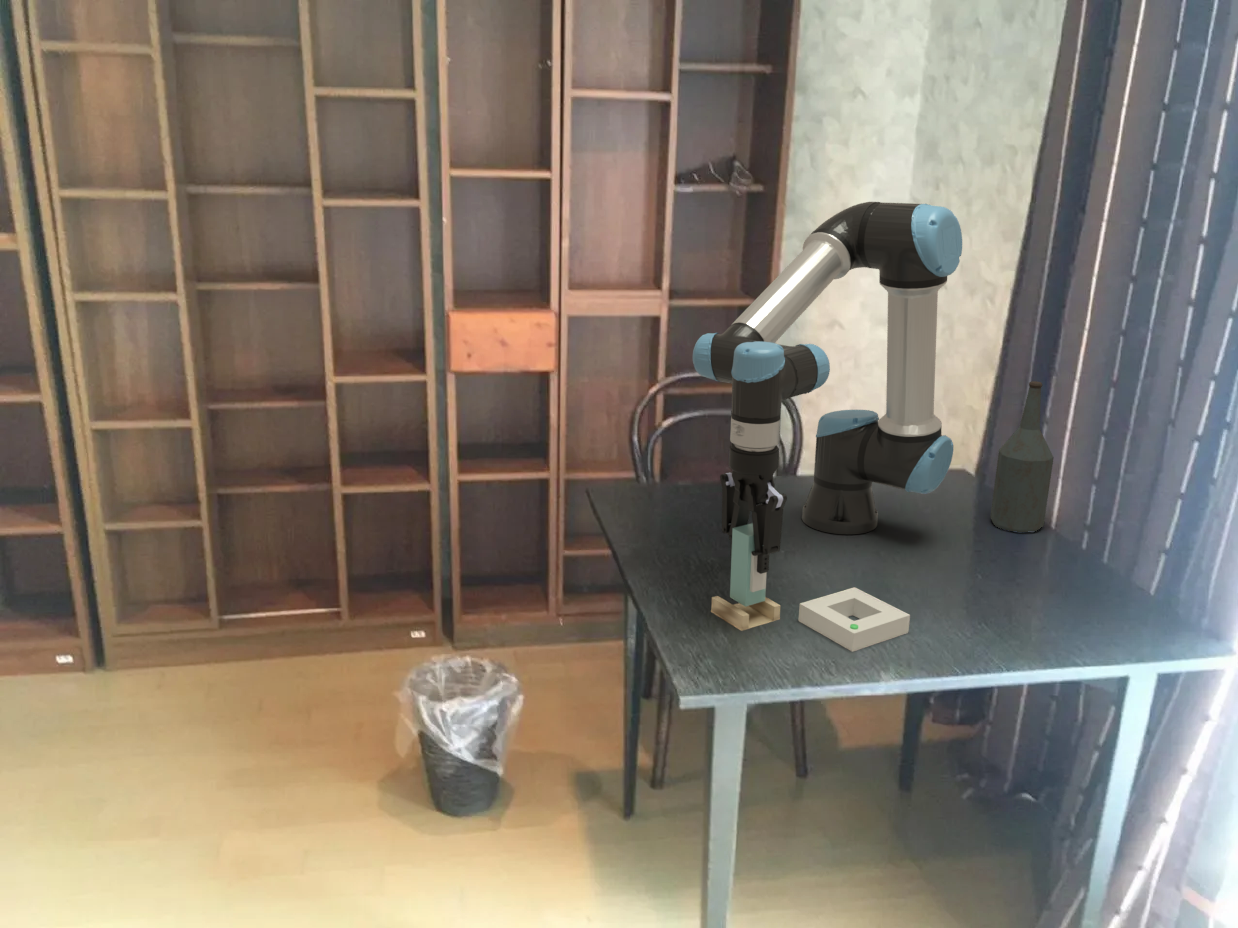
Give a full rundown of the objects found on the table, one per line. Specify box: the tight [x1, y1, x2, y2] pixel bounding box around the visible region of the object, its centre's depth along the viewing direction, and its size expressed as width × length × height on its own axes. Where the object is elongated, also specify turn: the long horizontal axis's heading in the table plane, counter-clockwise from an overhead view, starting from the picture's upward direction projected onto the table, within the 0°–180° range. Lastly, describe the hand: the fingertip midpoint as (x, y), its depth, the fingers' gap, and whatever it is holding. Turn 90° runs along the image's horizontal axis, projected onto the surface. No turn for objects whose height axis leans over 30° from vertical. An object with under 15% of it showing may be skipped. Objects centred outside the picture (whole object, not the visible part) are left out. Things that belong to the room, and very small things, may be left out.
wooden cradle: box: [710, 595, 781, 632], centre depth 165 cm, size 8×8×4 cm
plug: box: [729, 522, 767, 607], centre depth 162 cm, size 4×4×12 cm
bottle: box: [989, 380, 1054, 532], centre depth 205 cm, size 10×10×30 cm
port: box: [798, 587, 911, 653], centre depth 161 cm, size 12×12×5 cm
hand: (748, 583), depth 163 cm, fingers closed on plug, 4 cm apart
